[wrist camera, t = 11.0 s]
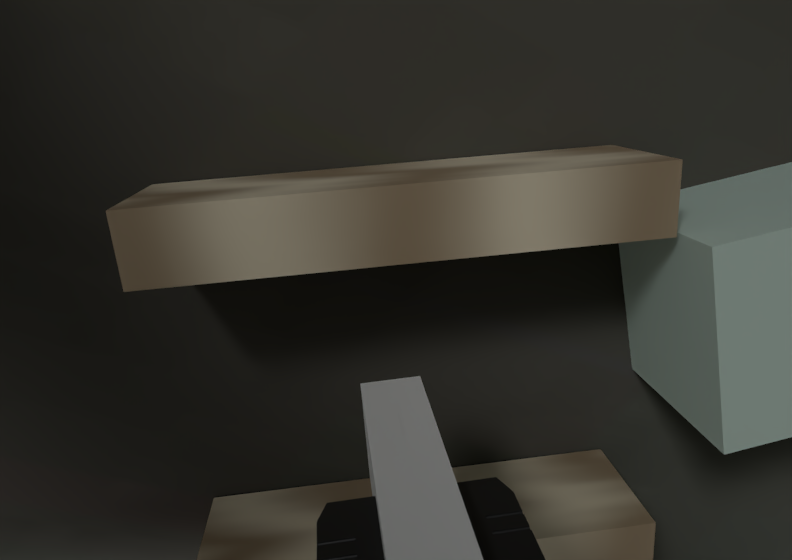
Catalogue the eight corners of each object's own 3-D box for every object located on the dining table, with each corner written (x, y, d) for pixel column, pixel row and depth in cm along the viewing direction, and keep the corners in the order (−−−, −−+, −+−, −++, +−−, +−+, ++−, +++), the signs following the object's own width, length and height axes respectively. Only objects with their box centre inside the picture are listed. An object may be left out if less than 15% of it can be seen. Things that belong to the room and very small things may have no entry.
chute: (222, 544, 22) (200, 640, 18) (152, 184, 18) (105, 210, 14) (598, 494, 23) (652, 575, 19) (611, 144, 19) (682, 159, 15)
